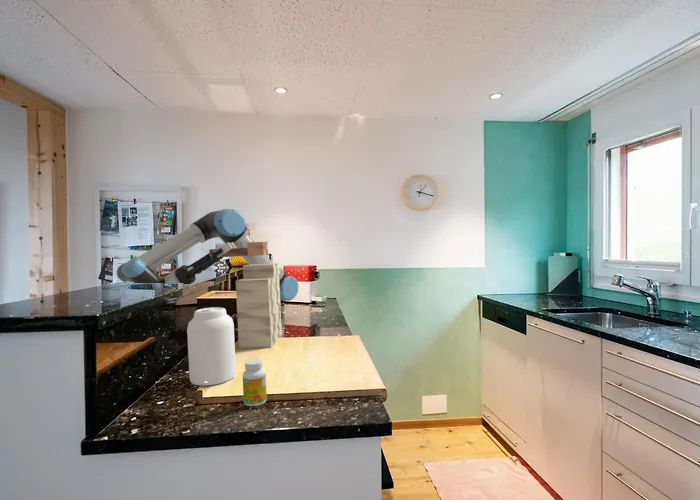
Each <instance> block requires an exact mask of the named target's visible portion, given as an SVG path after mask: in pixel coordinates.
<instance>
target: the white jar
mask: <svg viewBox="0 0 700 500" xmlns="http://www.w3.org/2000/svg"><path fill="white" fill-rule="evenodd" d="M186 334H187V355H188V356H187V357H188V371H189V372H188V373H189V376H188V377H189V381H190V383H191V384H192V385H195V386H203V387H204V386H205V387H207V386H208V387H209V386H215V385H219V384H223V383H226V382H228V381H231V380H233V379H234V378H235V377H236V374H237V367H236V366H237V365H236V364H237V363H236V346H235V345H236V344H235V343H236V342H235V341H236V340H235V324H234V320H233V318H232V317H231V316H230V315H229V314H227V310H226V308H224V307H222V306H221V307H219V306H218V307H217V306H216V307H215V306H213V307H203V308H200V309H197V310H195V311H194V313H193V317H192V319H190V321H189V322H188V323H187V328H186ZM205 381H207V382H208V383H204V382H205Z"/></svg>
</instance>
